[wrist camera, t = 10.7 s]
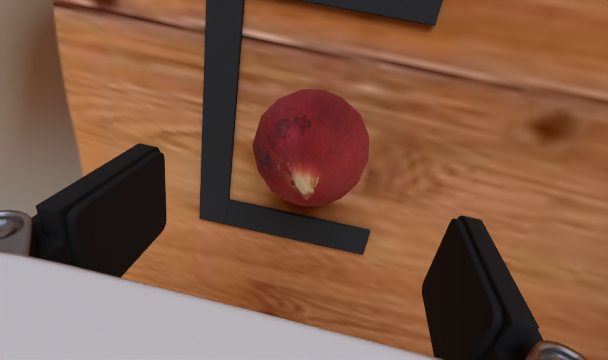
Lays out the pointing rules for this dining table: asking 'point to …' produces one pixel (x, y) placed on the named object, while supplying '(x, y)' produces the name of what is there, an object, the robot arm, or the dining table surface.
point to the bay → (221, 124)
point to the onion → (311, 147)
